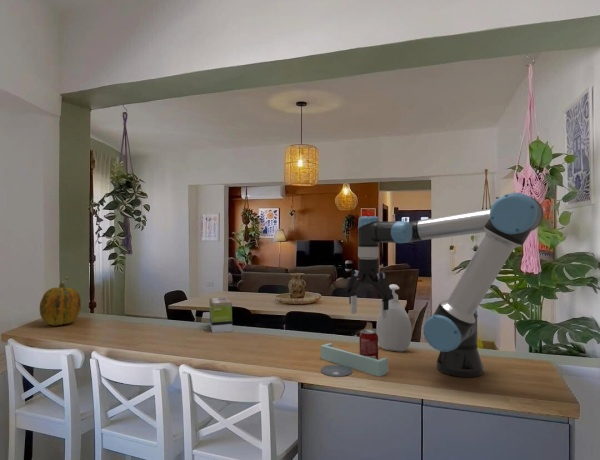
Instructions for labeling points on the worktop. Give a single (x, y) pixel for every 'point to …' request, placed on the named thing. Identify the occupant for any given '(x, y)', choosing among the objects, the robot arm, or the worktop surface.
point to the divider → (354, 360)
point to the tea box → (220, 314)
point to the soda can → (369, 344)
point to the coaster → (336, 370)
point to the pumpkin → (60, 305)
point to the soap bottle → (394, 326)
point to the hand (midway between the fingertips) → (368, 316)
